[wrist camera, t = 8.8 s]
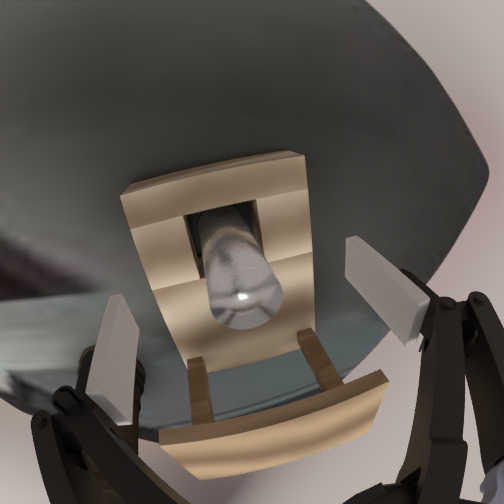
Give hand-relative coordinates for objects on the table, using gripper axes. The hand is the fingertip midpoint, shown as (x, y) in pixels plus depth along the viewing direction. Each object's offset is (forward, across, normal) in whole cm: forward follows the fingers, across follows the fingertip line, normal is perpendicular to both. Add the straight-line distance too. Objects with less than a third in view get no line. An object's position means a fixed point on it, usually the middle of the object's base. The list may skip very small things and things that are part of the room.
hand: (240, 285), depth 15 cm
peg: (+11, 0, -1) cm, 11 cm away
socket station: (+11, 0, -5) cm, 12 cm away
